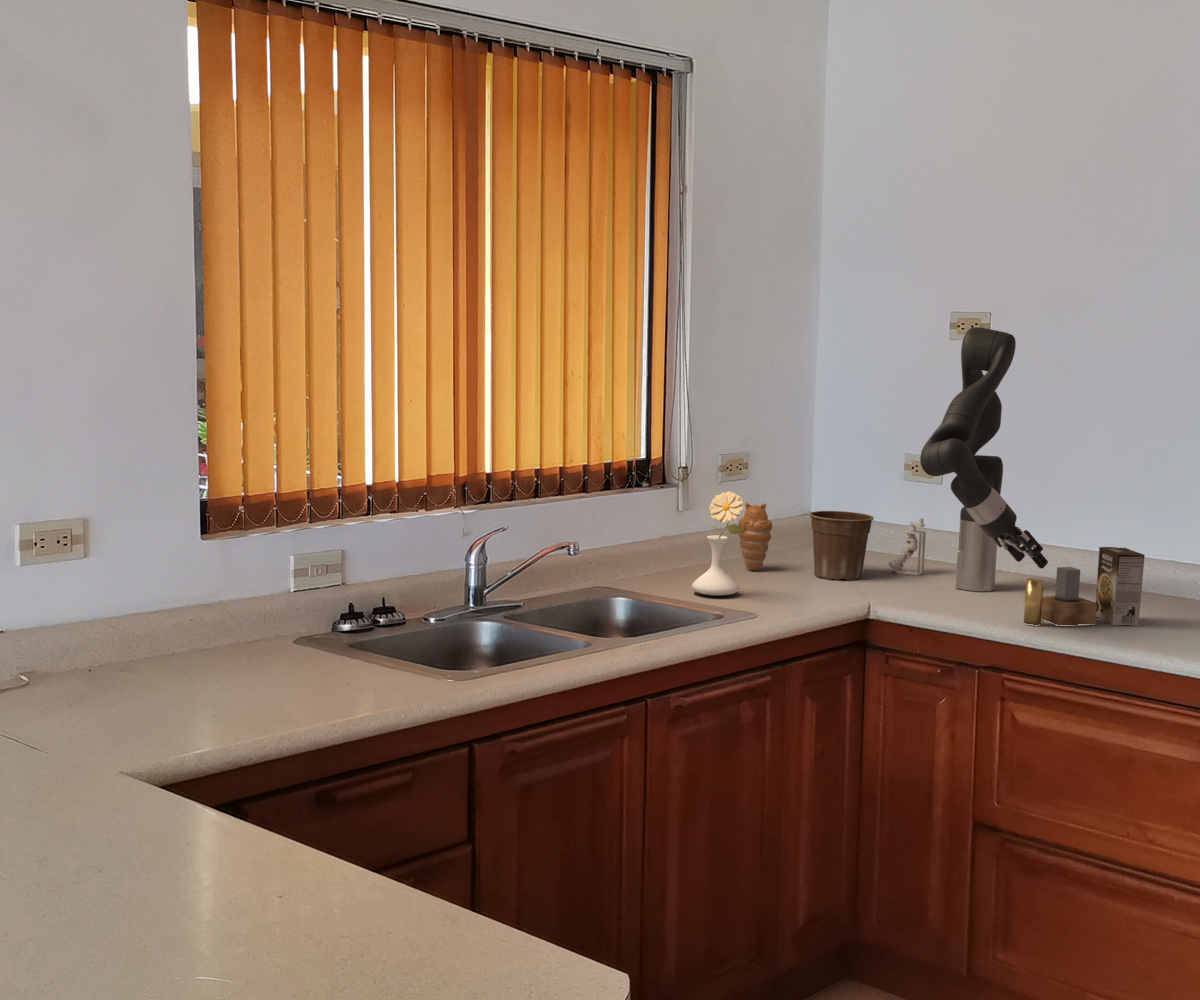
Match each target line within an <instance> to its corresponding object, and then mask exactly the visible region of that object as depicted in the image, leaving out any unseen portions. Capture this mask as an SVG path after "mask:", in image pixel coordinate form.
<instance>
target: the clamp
mask: <svg viewBox="0 0 1200 1000" xmlns="http://www.w3.org/2000/svg"><path fill="white" fill-rule="evenodd" d="M925 525H926V524H925V523H924V518H923V517H922V518H919V519H918V522H916V521H910V522H909V529H902V530H901V533H902V534H907V538H906V545H905V546H904V548H902V551H901V552H900V553H901V554H899V555H898V556H897V557H896V559H894V560H893V561H891V560H890V561H888V563H887V565H888V566H889V568H890V569H892V570H893V572H895V573H896V572H899V573H908V574H914V575H917V576H919V575H922V574H924V571H925V569H924V568H925V555H926V553H925V551H926V536H927V535H926V534H927V533H926V531H922V530H917V527H919V528H924V527H925ZM915 551H917V552H916V555H917V556H916V571H915V570H907V569H903V568H904V566H905V565H904V564H905V563H906V562H907V561H906V560H909V558H911V557H912V556H913V555H914V553H915ZM908 557H909V558H908ZM899 573H898V574H899ZM920 573H921V574H920ZM914 575H913V576H914Z"/></svg>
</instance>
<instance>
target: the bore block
mask: <svg viewBox="0 0 1200 1000" xmlns="http://www.w3.org/2000/svg"><path fill="white" fill-rule="evenodd" d="M1096 607H1097V603H1096V601H1092V600H1089V599H1085V598H1083V597H1079V599H1078V602H1062V601H1059V600H1056V599H1055V595H1043V599H1042V615H1041V619H1043V620H1046V621H1049V622H1052V623H1054V624H1057V625H1078V624H1095V625H1096V622H1097V621H1096V619H1097V618H1096Z"/></svg>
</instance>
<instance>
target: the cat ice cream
mask: <svg viewBox="0 0 1200 1000" xmlns="http://www.w3.org/2000/svg"><path fill="white" fill-rule="evenodd" d="M766 509H767V504H766V503H765V502H764V503H763V504H760V505H758V504H756V505H755V504H753V505H751V504H750V503H749V502H745V511H744V515H743V516H742V517H740V518H739V520H738V523H737V525H738V526H739V527H740V529H741V530H742V532H743V533H738V534H737V535H738V536H739V538H740V539H739V545H740V548H741V555H742V557H743V559H744V566H745V567H746V568H747V570H750V571H754V572H755V571H759V570H760V569H761V568H762V567H763V565H764V561H765V560H766V557H767V552H768V550H769V542H770V541H771V539H772V534H771V531H772V530H773V523H772V521H771V520H770V519H769V517H768V514H767V511H766Z"/></svg>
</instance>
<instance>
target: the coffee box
mask: <svg viewBox="0 0 1200 1000" xmlns="http://www.w3.org/2000/svg"><path fill="white" fill-rule="evenodd" d="M1098 549H1099V550H1098V551H1099V552H1098V563H1097V564H1098V566H1097V578H1096V579H1097V580H1096V593H1095V603H1097V607H1096V617H1098V618H1100V619H1102V620H1104V621H1106V622H1108V623H1110V624H1112V625H1111V626H1113V625H1140V612H1141V601H1142V591H1143V590H1142V589H1143V580H1144V579H1143V578H1144V567H1145V557H1146V555H1145V554H1144V553H1141V552H1138V551H1135V550H1132V549H1130V548H1127V547H1115V546H1113V547H1112V546H1099V547H1098ZM1098 618H1097V619H1098ZM1100 619H1099V620H1100ZM1102 620H1101V621H1102ZM1104 621H1103V622H1104ZM1106 622H1105V623H1106ZM1108 623H1107V624H1108ZM1110 624H1109V625H1110Z"/></svg>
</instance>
